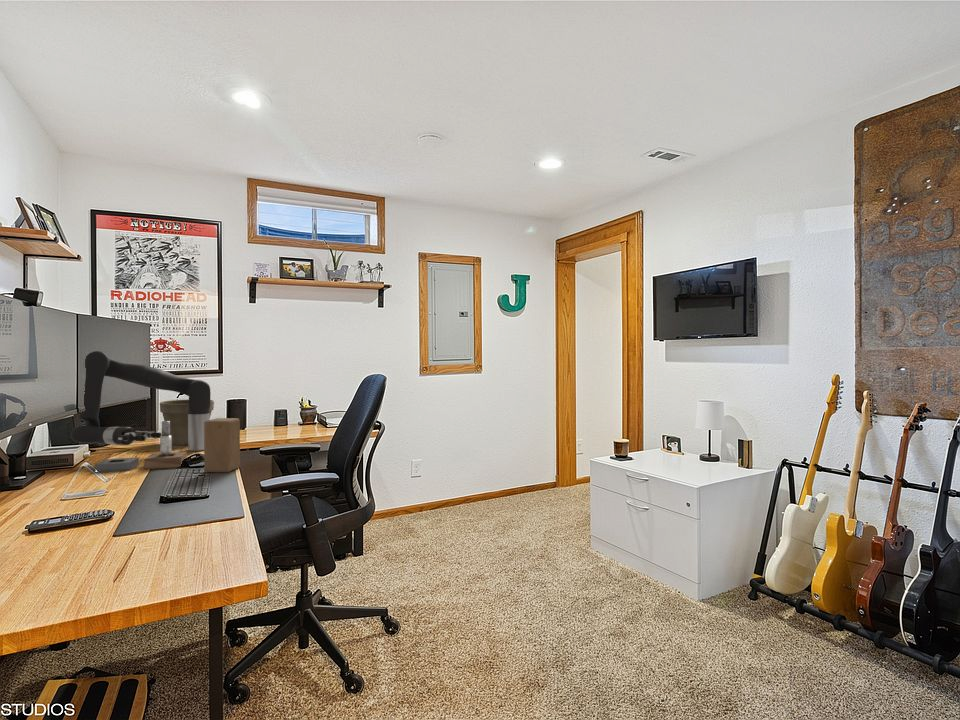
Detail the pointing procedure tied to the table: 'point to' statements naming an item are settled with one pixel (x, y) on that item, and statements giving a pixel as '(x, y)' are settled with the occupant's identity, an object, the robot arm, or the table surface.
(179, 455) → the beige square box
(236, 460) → the wooden block
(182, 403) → the plant pot
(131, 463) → the grey socket
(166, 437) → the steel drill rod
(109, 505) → the table surface
